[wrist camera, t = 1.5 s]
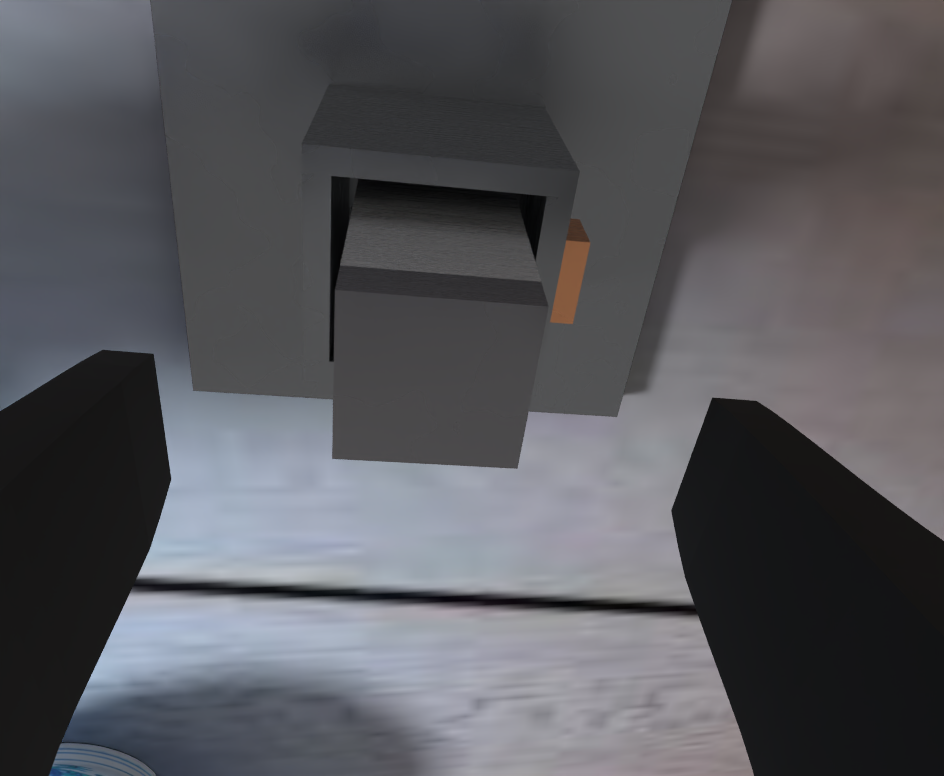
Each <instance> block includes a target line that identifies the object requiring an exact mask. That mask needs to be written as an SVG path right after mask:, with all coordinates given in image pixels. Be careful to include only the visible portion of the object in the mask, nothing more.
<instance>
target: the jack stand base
mask: <svg viewBox="0 0 944 776" xmlns="http://www.w3.org/2000/svg"><path fill="white" fill-rule="evenodd" d="M150 2H151V11H152V20H153V29H154V38H155V47H156V56H157V65H158V74H159V83H160V93H161V102H162V111H163V120H164V129H165V138H166V147H167V156H168V165H169V174H170V183H171V192H172V201H173V210H174V219H175V228H176V238H177V247H178V256H179V265H180V274H181V283H182V292H183V301H184V310H185V319H186V328H187V337H188V346H189V355H190V364H191V374H192V383H193V391H208V392H224V393H240V394H256V395H272V396H288V397H305V398H321V399H333V384H334V318H335V287H336V283H337V278H338V273H339V269H340V264H341V259H342V254H343V250H344V245H345V240H346V236H347V231H348V226H349V221H350V217H351V212H352V207H353V203H354V198H355V193H356V188H357V184H358V179H359V178H360V179H370V180H381V181H392V182H402V183H413V184H423V185H434V186H444V187H455V188H466V189H476V190H487V191H497V192H508V193H515V195H516V199H517V202H518V205H519V209H520V212H521V215H522V219H523V222H524V226H525V229H526V232H527V236H528V239H529V242H530V246H531V249H532V252H533V256H534V259H535V262H536V266H537V269H538V272H539V276H540V279H541V282H542V286H543V289H544V292H545V296H546V299H547V302H548V306H549V308H548V313H547V318H546V324H545V329H544V334H543V339H542V344H541V349H540V354H539V360H538V365H537V370H536V375H535V380H534V385H533V390H532V396H531V401H530V406H529V411H531V412H547V413H563V414H579V415H595V416H611V417H617V415H618V412H619V408H620V404H621V401H622V397H623V393H624V390H625V386H626V383H627V379H628V375H629V372H630V368H631V364H632V361H633V357H634V354H635V350H636V346H637V343H638V339H639V336H640V332H641V328H642V325H643V321H644V317H645V314H646V310H647V307H648V303H649V299H650V296H651V292H652V289H653V285H654V281H655V278H656V274H657V270H658V267H659V263H660V260H661V256H662V252H663V249H664V245H665V242H666V238H667V234H668V231H669V227H670V223H671V220H672V216H673V213H674V209H675V205H676V202H677V198H678V194H679V191H680V187H681V184H682V180H683V176H684V173H685V169H686V166H687V162H688V158H689V155H690V151H691V147H692V144H693V140H694V137H695V133H696V129H697V126H698V122H699V119H700V115H701V111H702V108H703V104H704V100H705V97H706V93H707V90H708V86H709V82H710V79H711V75H712V71H713V68H714V64H715V61H716V57H717V53H718V50H719V46H720V43H721V39H722V35H723V32H724V28H725V24H726V21H727V17H728V14H729V10H730V6H731V3H732V0H150Z"/></svg>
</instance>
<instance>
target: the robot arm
mask: <svg viewBox="0 0 944 776" xmlns="http://www.w3.org/2000/svg"><path fill="white" fill-rule="evenodd" d="M170 482H171V474H170V467H169V460H168V453H167V446H166V439H165V432H164V425H163V417H162V410H161V403H160V396H159V389H158V382H157V375H156V368H155V361H154V354H148V353H135V352H122V351H110V350H102V351H100V352H98V353H96V354H94V355H92V356H90V357H88V358H87V359H85V360H83V361H81V362H80V363H78V364H76V365H75V366H73V367H71V368H70V369H68V370H66V371H65V372H63V373H62V374H60V375H58V376H57V377H55V378H53V379H52V380H50V381H49V382H47V383H45V384H44V385H42V386H41V387H39V388H37V389H36V390H34V391H33V392H31V393H29V394H28V395H26V396H25V397H23V398H21V399H20V400H18V401H16V402H15V403H13V404H11V405H10V406H8V407H7V408H5V409H3V410H2V411H0V776H49V774H50V771H51V769H52V766H53V763H54V760H55V757H56V754H57V752H58V749H59V747H60V744H61V742H62V739H63V737H64V735H65V732H66V730H67V727H68V725H69V723H70V720H71V718H72V715H73V713H74V711H75V709H76V706H77V704H78V702H79V700H80V698H81V696H82V694H83V691H84V689H85V687H86V685H87V683H88V681H89V679H90V677H91V674H92V672H93V670H94V668H95V666H96V664H97V662H98V660H99V657H100V655H101V653H102V651H103V649H104V647H105V645H106V643H107V640H108V638H109V636H110V634H111V632H112V630H113V628H114V626H115V623H116V621H117V619H118V617H119V615H120V613H121V611H122V609H123V606H124V604H125V602H126V600H127V598H128V596H129V593H130V591H131V589H132V587H133V585H134V583H135V580H136V578H137V576H138V574H139V572H140V570H141V567H142V565H143V563H144V561H145V558H146V556H147V554H148V552H149V550H150V547H151V544H152V541H153V538H154V535H155V531H156V528H157V525H158V522H159V519H160V516H161V512H162V509H163V506H164V502H165V499H166V495H167V492H168V489H169V485H170ZM671 511H672V517H673V522H674V527H675V532H676V538H677V543H678V548H679V552H680V557H681V561H682V566H683V570H684V574H685V578H686V581H687V584H688V587H689V590H690V593H691V596H692V599H693V602H694V604H695V607H696V610H697V613H698V616H699V619H700V621H701V624H702V627H703V630H704V633H705V635H706V638H707V641H708V644H709V646H710V649H711V652H712V655H713V657H714V660H715V663H716V666H717V668H718V671H719V674H720V677H721V679H722V682H723V685H724V688H725V690H726V693H727V696H728V699H729V701H730V704H731V707H732V710H733V712H734V715H735V718H736V721H737V723H738V726H739V729H740V732H741V735H742V738H743V741H744V744H745V747H746V750H747V754H748V757H749V760H750V763H751V766H752V769H753V773H754V776H944V541H943V540H942V539H940V538H939V537H937V536H936V535H934V534H933V533H932V532H930V531H929V530H927V529H926V528H925V527H923V526H922V525H920V524H919V523H918V522H916V521H915V520H914V519H912V518H911V517H910V516H908V515H907V514H906V513H904V512H903V511H902V510H900V509H899V508H897V507H896V506H895V505H894V504H892V503H891V502H890V501H888V500H887V499H886V498H884V497H883V496H882V495H880V494H879V493H878V492H876V491H875V490H874V489H873V488H871V487H870V486H869V485H867V484H866V483H865V482H863V481H862V480H861V479H860V478H858V477H857V476H856V475H854V474H853V473H852V472H851V471H849V470H848V469H847V468H845V467H844V466H843V465H842V464H840V463H839V462H838V461H837V460H835V459H834V458H833V457H831V456H830V455H829V454H828V453H826V452H825V451H824V450H823V449H821V448H820V447H819V446H817V445H816V444H815V443H814V442H812V441H811V440H810V439H808V438H807V437H806V436H805V435H803V434H802V433H801V432H799V431H798V430H797V429H795V428H794V427H793V426H792V425H790V424H789V423H788V422H786V421H785V420H783V419H782V418H781V417H779V416H778V415H777V414H775V413H774V412H772V411H771V410H769V409H768V408H766V407H765V406H763V405H762V404H760V403H759V402H757V401H750V400H737V399H724V398H712V400H711V403H710V406H709V408H708V411H707V414H706V417H705V419H704V422H703V425H702V428H701V430H700V433H699V436H698V439H697V441H696V444H695V447H694V450H693V452H692V455H691V458H690V461H689V463H688V466H687V469H686V472H685V474H684V477H683V480H682V483H681V485H680V488H679V491H678V494H677V496H676V499H675V502H674V505H673V508H672V510H671Z"/></svg>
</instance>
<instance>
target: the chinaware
mask: <svg viewBox="0 0 944 776" xmlns="http://www.w3.org/2000/svg"><path fill="white" fill-rule="evenodd" d="M49 776H156V774H155V773H154V772H153V771H152V770H151V769H150V768H149V767H148V766H146V765H145V764H144V763H142V762H141V761H139V760H137V759H135V758H133V757H131V756H129V755H127V754H125V753H122V752H119V751H116V750H113V749H110V748H106V747H101V746H96V745H89V744H80V743H61V744H60V747H59V749H58V752H57V754H56V757H55V760H54V763H53V766H52V769H51V771H50V774H49Z"/></svg>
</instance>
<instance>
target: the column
mask: <svg viewBox="0 0 944 776" xmlns="http://www.w3.org/2000/svg"><path fill="white" fill-rule="evenodd" d="M548 308H549V306H548V302H547V299H546V296H545V292H544V289H543V286H542V282H541V279H540V276H539V272H538V269H537V266H536V262H535V259H534V256H533V252H532V249H531V246H530V242H529V239H528V236H527V232H526V229H525V226H524V222H523V219H522V215H521V212H520V209H519V205H518V202H517V199H516V195H515V193H508V192H497V191H487V190H476V189H466V188H455V187H444V186H434V185H423V184H413V183H402V182H392V181H381V180H370V179H360V178H359V179H358V184H357V188H356V193H355V198H354V203H353V207H352V212H351V217H350V221H349V226H348V231H347V236H346V240H345V245H344V250H343V254H342V259H341V264H340V269H339V273H338V278H337V283H336V287H335V318H334V384H333V449H332V459H347V460H366V461H385V462H404V463H422V464H441V465H460V466H479V467H498V468H516V469H517V468H518V463H519V457H520V452H521V447H522V442H523V437H524V432H525V427H526V421H527V416H528V411H529V406H530V401H531V396H532V390H533V385H534V380H535V375H536V370H537V365H538V360H539V354H540V349H541V344H542V339H543V334H544V329H545V324H546V318H547V313H548Z"/></svg>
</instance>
